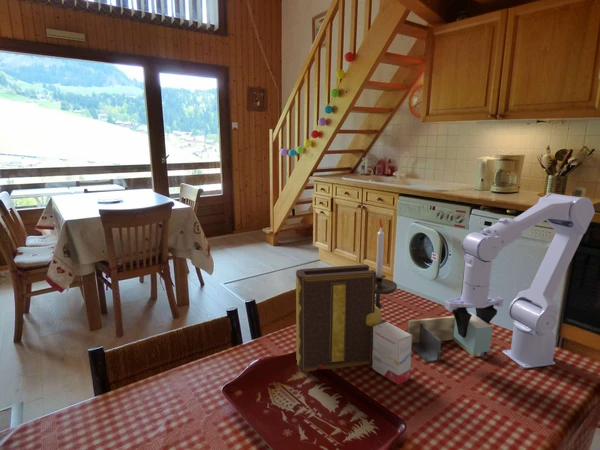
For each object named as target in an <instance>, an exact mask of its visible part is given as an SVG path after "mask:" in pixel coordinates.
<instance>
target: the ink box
mask: <svg viewBox="0 0 600 450" xmlns="http://www.w3.org/2000/svg"><path fill="white" fill-rule="evenodd" d="M411 343H412V335H411V334H409V333H408V331H405V330H403V329H401V328H399V327H398V326H396V325H394V324H392V323H390V322H389V323H388V321H387V322H384V323H381V324H379V325H376V326H373V355H372V369H373V370H374V371H376V372H377V373H379V374H380V375H381V376H383V377H385V378H387V379H388V380H389V381H391V382H393V383H394V384H395V385H397V386H399V385H401V384H403V383H404V382H406V381H408V380H410V379H411V371H412V370H411V369H412V368H411V366H412V346H411Z"/></svg>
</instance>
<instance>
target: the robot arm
mask: <svg viewBox="0 0 600 450" xmlns="http://www.w3.org/2000/svg"><path fill="white" fill-rule="evenodd" d="M595 214H596V212H595V208H594V205H593V202H592V200H591V199H590V198H588V197H587V196H582V197H581V196H573V195H567V194H566V195H565V194H558V193H555V192H554V193H553V192H549V193H547V194H545V195H544V196H542V197H539V199H538V201H537V203H536V204H534V205H532V207H530V208H527V210H525V211H524V212H522V213H521V214H519V215H517V216H516V217H515V218H510V217H501V218H499V219H498V220H497V221H498V222H496V223H494V224H492V225H490V226H488V227H485V228H483V229H482V230H481V231H480V232H476V231H475V232H474V231H473V232H470V233H469V234H467V235H466V236H465V237H464V239H463V241H462V242H461V243H460V249H461V251H462V252H463V259H464V262H465V263H464V271H463V272H464V273H463V281H462V290H461V294H460V295H461V296H459V297H456V298H452V299H447V300H445V301H444V308H445V310H446V311H448V312H452V314H453V315H452V316H454V317H455V320H456V323H457V328H458V334H459V335H460V336H462V337H463V338H464V337H466V334H467V328H468V323H469V320H470V318H471V316H472V315H471V314H470V313H468V312H469V310H468V309H472V308H473V309H475V315H476V316H477V317H479V318H480V319H482V320H483V321H484V322H486V323H487V324H489V325H490V322H492V320H493V318H495V316H496V315H497V313H498V309H496V308H495V307H496V306H497V307H503V305H504V298H502V297H500V296H499V295H489V292H490V291H489V290H490V285H491V284H490V282H491V273H492V268H493V267H492V265H493V261H494V260H496V258H497V257H498V256H499V255H500V252H501V251H502V250H503V249H504V248H506V247H507V246H509V245H511V244H512V243H515V242H516V241H518V240H520V239H521V237H522V235H523V232H524V231H526V230H528V229H530V228H533V227H535V226H537V225H539V224H541V223H543V222H545V221H546V222H547V223H548V225H549V226H550V227H552V229H553V231H554V234H555V235H553V236H554V237H553V239H552V241H551V243H550V245H549V247H548V249H547V252H546V253H545V255H544V258H543V259H542V261H541V264H540V266H539V268H538V270H537V272H536V274H535V277H534V279H533V281H532V283H531V284H530V287H529V288H527V289H525V290H520V291H519V292H518V293H517V295H516V296H515V298H514V299H513V300H512V301H511V302H510V304H509V306H508V309H507V311H508V316H509V317H510V318H511V319H512V320H511V323H512V324H513V329H512V337H511V345H510V349H506V350H505V349H503V350H502V353H503V354H505V356H507V357H508V358H510V359H511V360H512V361H514V362H515V363H516V364H517V365H519V366H520V367H521V368H522V369H531V368H537V367H545V366H551V365H552V366H553V365H556V362H555V361H554V355H555V348H556V336H555V333H554V331H553V330H554V329H555V328H556V326H557V322H558V321H557V318H558V315H559V312H560V308H559V306H558V304H557V303H556V301H555V299H554V296H555V295H556V292H557V290H558V289H559V288H558V287H559V286H560V284H561V282H562V281H563V278H564V276H565V274H566V272H567V269H568V268H569V266H570V263H571V262H572V259H573V257H574V256H575V253H576V251H577V249H578V247H579V245H580V242H581V241H582V238H583V236H584V234H586V232H587V230H588V227H589V226H590V223H591V222H592V220H593V217H594V215H595ZM494 306H495V307H494Z"/></svg>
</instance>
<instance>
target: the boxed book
mask: <svg viewBox="0 0 600 450" xmlns="http://www.w3.org/2000/svg"><path fill="white" fill-rule="evenodd" d="M468 313H470V314H471V315H472V316H471V318H470V320H469V323H468V328H467V334H466V337H464V338H463V337H462V336H460V335H459V334H458V328H457V323H456V320H455V326H454V335H453V336H454V337H455V338H456V339H457V340H458V341H460V342H461V343H462V344H463V345H464V346H465V347H467V348H468V349H469V350H470V351H471V352H472V353H480V352H484V353H487V352H491V343H492V337H493V336H492V335H493V329H494V327H493V326H492V325H490V323H489V324H487V323H486V322H484V321H483V320H482V319H480V318H479V317H477V316H476V314H475V313H473V312H471V311H470V312H469V311H468Z"/></svg>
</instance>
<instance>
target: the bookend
mask: <svg viewBox="0 0 600 450" xmlns="http://www.w3.org/2000/svg"><path fill="white" fill-rule="evenodd" d="M441 344H442V341H441V340H440V339H439V338H438V337H437V336H436V335H435V334H434V333H432V332H431V331H430V330H429V329H428V328H427V327H426V326H425V325H424V324H420V336H419V342H414V343H411V348H412V349H414V350H415V352H416V353H417V354H418V355H419V356H420V357H421V358H422V359H423V360H424V362H426V363H435V362H440V358H441V348H442V347H441V346H442V345H441Z"/></svg>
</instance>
